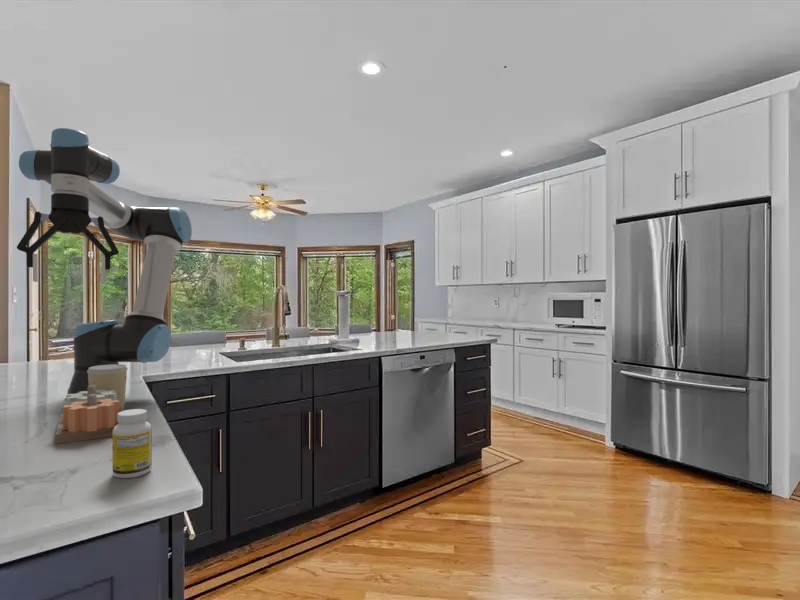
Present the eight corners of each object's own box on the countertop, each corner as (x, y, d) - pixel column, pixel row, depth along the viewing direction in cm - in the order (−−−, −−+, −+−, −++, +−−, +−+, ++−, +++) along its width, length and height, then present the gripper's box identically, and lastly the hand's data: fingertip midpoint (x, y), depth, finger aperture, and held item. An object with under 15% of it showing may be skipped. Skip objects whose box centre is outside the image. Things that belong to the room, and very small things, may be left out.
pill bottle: (122, 466, 89) (122, 407, 89) (157, 466, 89) (157, 407, 89) (105, 479, 83) (105, 416, 82) (142, 479, 83) (142, 416, 83)
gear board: (60, 422, 118) (60, 385, 118) (121, 415, 125) (121, 381, 125) (55, 443, 102) (55, 401, 101) (125, 434, 109) (126, 395, 109)
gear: (58, 415, 117) (58, 394, 117) (104, 406, 126) (104, 388, 126) (77, 422, 111) (77, 400, 111) (124, 412, 120) (124, 393, 120)
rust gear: (64, 423, 110) (64, 401, 110) (117, 417, 116) (117, 396, 116) (62, 435, 101) (62, 411, 101) (120, 427, 107) (120, 405, 107)
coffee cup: (135, 408, 133) (135, 365, 133) (104, 416, 124) (104, 370, 124) (110, 405, 136) (110, 363, 136) (78, 413, 127) (78, 368, 127)
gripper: (1, 185, 106) (1, 280, 106) (130, 198, 120) (130, 283, 120) (6, 191, 112) (6, 281, 113) (128, 202, 126) (128, 283, 126)
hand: (70, 282), depth 116 cm, fingers open, 13 cm apart
